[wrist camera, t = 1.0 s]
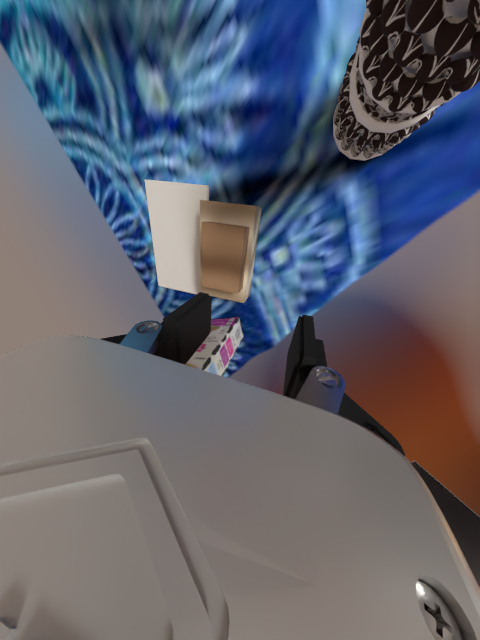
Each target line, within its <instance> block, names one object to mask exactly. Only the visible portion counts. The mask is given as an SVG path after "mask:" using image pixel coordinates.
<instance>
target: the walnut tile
mask: <svg viewBox="0 0 480 640" xmlns="http://www.w3.org/2000/svg"><path fill="white" fill-rule="evenodd" d="M249 229H250V227H247V226H239V225H232V224H225V223H217V222H210V221H209V222H202V286H203V287H208V288H213V289H217V290H222V291H227V292H232V293H236V294H238V293H239V292H240V291H241V290H242V289H243V281H244V272H245V264H246V255H247V246H248V238H249Z"/></svg>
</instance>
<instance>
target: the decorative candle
mask: <svg viewBox="0 0 480 640" xmlns="http://www.w3.org/2000/svg"><path fill="white" fill-rule="evenodd" d="M366 7H367V8H366V11H365V15H364V18H363V22H362V25H361V28H360V37H359V39H358V41H357V46H356V51H355V53H354V54H353V55H352V57H351V58H350V60H349V62H348V65H347V70H346V74H345V76H344V79H343V83H342V85H341V88H340V91H339V95H338V98H337V106H336V110H335V113H334V116H333V137H334V139H335V142H336V144H337V147H338V149H339V151H340V152H342V153H343V154H344V155H346V156H347V157H348V158H349V159H354V160H363V161H365V160H368V159H371V158H374V157H378V156H381V155H382V154H384V153H386V152H387V151H388V150H389V149H391V148H392V147H393V146H395V145H396V144H399V143H400V142H402V141H403V139H405V138H407V137H408V136H409V135H410V134H411V133H412V132H413V131H415V130H417V129H418V128H419V127H420V126H421V125H422V124H424V123H426V122H427V121H428V120H430V119H431V117H432V116H433V115H434V112H435V110H436V109H437V108H438V107H440V106H442V105H443V104H445V103H446V102H448V101H450V100H451V99H452V98H454V97H455V96H457V95H458V94H459V93H461V92H463V91H466V90H468V89H470V88H472V87H473V86H475V85H476V84H477V83H478V82H479V80H480V0H366Z"/></svg>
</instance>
